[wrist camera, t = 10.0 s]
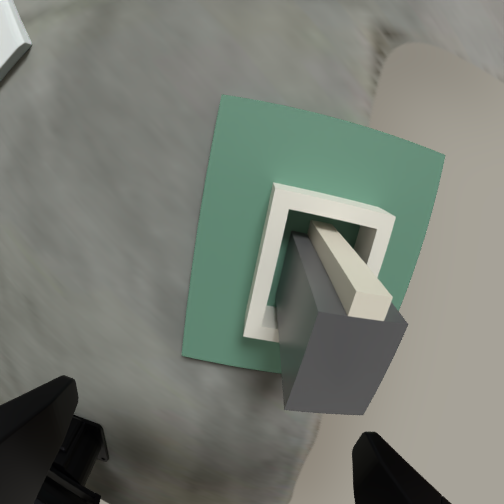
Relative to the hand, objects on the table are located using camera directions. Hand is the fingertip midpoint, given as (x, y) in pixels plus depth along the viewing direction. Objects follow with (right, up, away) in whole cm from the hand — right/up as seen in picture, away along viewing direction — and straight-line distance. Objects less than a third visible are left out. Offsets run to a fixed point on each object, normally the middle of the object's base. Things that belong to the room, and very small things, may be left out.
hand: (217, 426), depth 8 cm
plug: (+4, +4, +10) cm, 11 cm away
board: (+4, +5, +11) cm, 12 cm away
